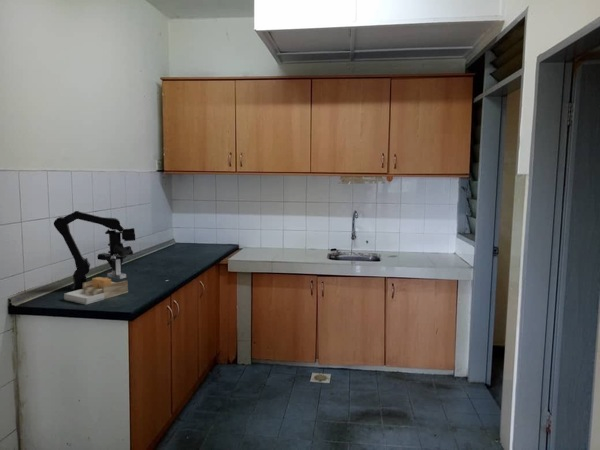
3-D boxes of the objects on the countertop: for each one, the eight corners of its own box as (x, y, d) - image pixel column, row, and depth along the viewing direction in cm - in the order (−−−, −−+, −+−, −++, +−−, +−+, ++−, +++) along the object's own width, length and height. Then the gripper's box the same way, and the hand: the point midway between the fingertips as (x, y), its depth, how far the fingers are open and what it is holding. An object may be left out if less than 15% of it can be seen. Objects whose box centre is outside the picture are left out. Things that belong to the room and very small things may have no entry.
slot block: (83, 294, 216) (82, 282, 216) (107, 288, 229) (106, 277, 228) (104, 299, 209) (103, 287, 208) (128, 292, 221) (127, 280, 220)
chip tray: (64, 299, 208) (63, 293, 207) (83, 294, 216) (82, 288, 216) (85, 304, 200) (85, 298, 200) (104, 299, 209) (104, 293, 209)
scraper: (107, 276, 235) (106, 258, 234) (113, 275, 239) (112, 257, 238) (120, 279, 231) (119, 260, 229) (126, 277, 234) (125, 259, 233)
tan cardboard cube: (99, 287, 215) (98, 279, 214) (106, 285, 218) (105, 278, 218) (104, 288, 213) (104, 280, 212) (111, 286, 216) (111, 279, 216)
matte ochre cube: (92, 286, 217) (92, 278, 216) (99, 284, 220) (99, 276, 220) (97, 287, 215) (97, 279, 215) (104, 285, 219) (104, 277, 218)
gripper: (110, 245, 220) (111, 275, 222) (139, 240, 237) (140, 268, 239) (96, 243, 226) (97, 272, 228) (125, 238, 242) (126, 266, 244)
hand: (116, 269), depth 234 cm, fingers closed on scraper, 3 cm apart
